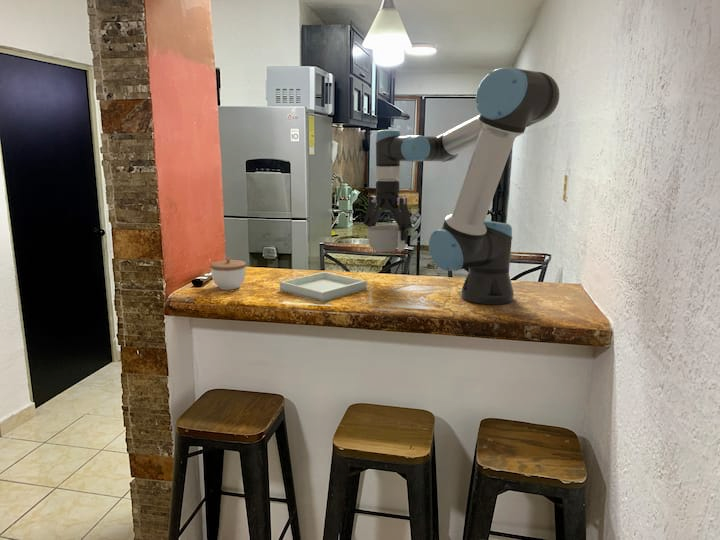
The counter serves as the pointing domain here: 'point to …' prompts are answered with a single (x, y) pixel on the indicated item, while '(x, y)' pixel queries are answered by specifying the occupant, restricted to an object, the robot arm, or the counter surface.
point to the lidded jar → (228, 273)
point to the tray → (323, 286)
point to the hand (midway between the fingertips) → (386, 248)
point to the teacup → (383, 237)
